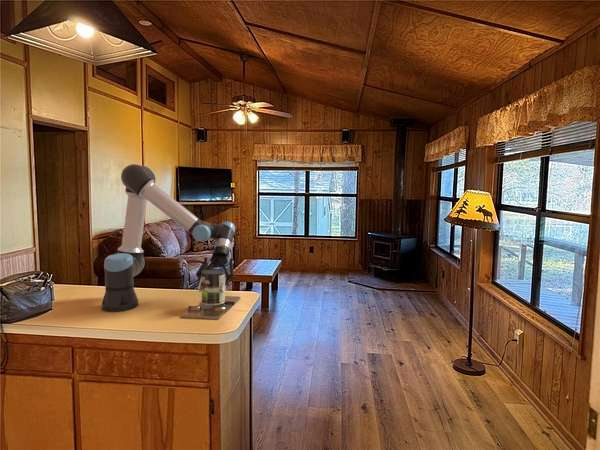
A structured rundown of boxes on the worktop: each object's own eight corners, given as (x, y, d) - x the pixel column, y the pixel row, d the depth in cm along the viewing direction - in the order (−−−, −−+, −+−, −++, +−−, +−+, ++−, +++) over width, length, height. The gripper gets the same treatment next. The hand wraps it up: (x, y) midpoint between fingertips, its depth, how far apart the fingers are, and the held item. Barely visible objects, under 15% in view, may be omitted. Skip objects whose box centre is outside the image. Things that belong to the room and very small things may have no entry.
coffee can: (209, 307, 171) (208, 274, 170) (197, 302, 179) (197, 271, 177) (229, 302, 178) (229, 271, 177) (217, 297, 186) (217, 268, 184)
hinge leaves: (181, 317, 164) (181, 311, 164) (208, 297, 195) (208, 292, 195) (219, 319, 162) (218, 312, 162) (240, 298, 193) (240, 293, 192)
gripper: (246, 255, 190) (237, 296, 176) (201, 254, 193) (189, 294, 179) (243, 245, 185) (233, 287, 170) (196, 244, 188) (183, 285, 173)
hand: (211, 290), depth 175 cm, fingers closed on coffee can, 10 cm apart
